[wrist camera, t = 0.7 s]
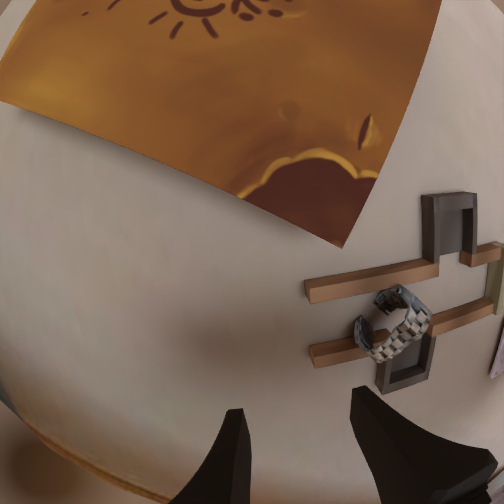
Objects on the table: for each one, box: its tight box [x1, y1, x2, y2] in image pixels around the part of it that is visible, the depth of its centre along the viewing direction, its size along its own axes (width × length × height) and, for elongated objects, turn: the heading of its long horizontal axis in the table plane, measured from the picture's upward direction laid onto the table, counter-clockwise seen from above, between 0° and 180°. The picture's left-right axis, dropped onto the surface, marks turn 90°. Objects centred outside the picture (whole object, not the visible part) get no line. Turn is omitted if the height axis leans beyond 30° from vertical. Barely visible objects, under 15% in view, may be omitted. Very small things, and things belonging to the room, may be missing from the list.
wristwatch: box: [354, 284, 432, 363], centre depth 17 cm, size 3×5×5 cm, turn 133°
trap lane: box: [304, 192, 504, 395], centre depth 18 cm, size 18×15×2 cm
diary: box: [0, 0, 442, 249], centre depth 12 cm, size 23×19×6 cm
